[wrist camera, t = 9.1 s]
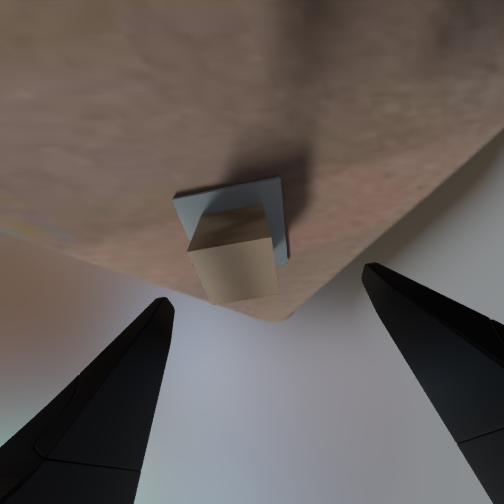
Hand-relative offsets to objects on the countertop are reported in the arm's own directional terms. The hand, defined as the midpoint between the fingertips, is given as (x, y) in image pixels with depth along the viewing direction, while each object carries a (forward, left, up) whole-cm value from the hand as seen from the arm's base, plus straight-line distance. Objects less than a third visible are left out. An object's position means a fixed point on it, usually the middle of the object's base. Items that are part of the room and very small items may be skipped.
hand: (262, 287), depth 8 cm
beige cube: (+2, +4, -11) cm, 12 cm away
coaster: (+2, +4, -12) cm, 12 cm away
